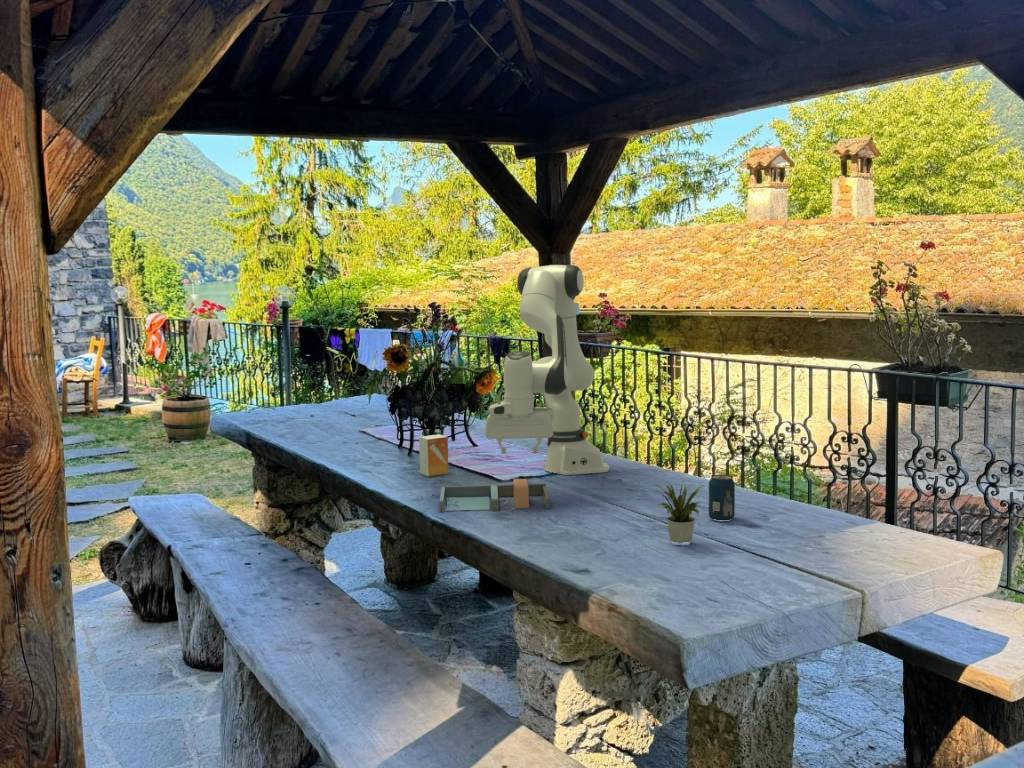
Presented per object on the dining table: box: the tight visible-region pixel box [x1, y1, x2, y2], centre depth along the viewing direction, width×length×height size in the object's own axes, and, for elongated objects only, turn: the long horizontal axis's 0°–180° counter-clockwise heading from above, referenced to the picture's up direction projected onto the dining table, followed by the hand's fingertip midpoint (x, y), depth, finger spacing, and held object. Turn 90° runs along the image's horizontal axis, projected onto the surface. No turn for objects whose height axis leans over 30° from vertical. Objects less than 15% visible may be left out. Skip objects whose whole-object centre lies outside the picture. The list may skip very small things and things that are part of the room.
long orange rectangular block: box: [512, 478, 530, 509], centre depth 277 cm, size 4×12×6 cm, turn 2°
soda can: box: [708, 474, 736, 520], centre depth 253 cm, size 7×7×12 cm
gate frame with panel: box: [439, 483, 551, 512], centre depth 277 cm, size 32×17×4 cm, turn 92°
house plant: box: [649, 479, 705, 543], centre depth 233 cm, size 14×14×16 cm
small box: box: [418, 433, 450, 477], centre depth 318 cm, size 8×6×13 cm
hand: (519, 453), depth 275 cm, fingers open, 8 cm apart
